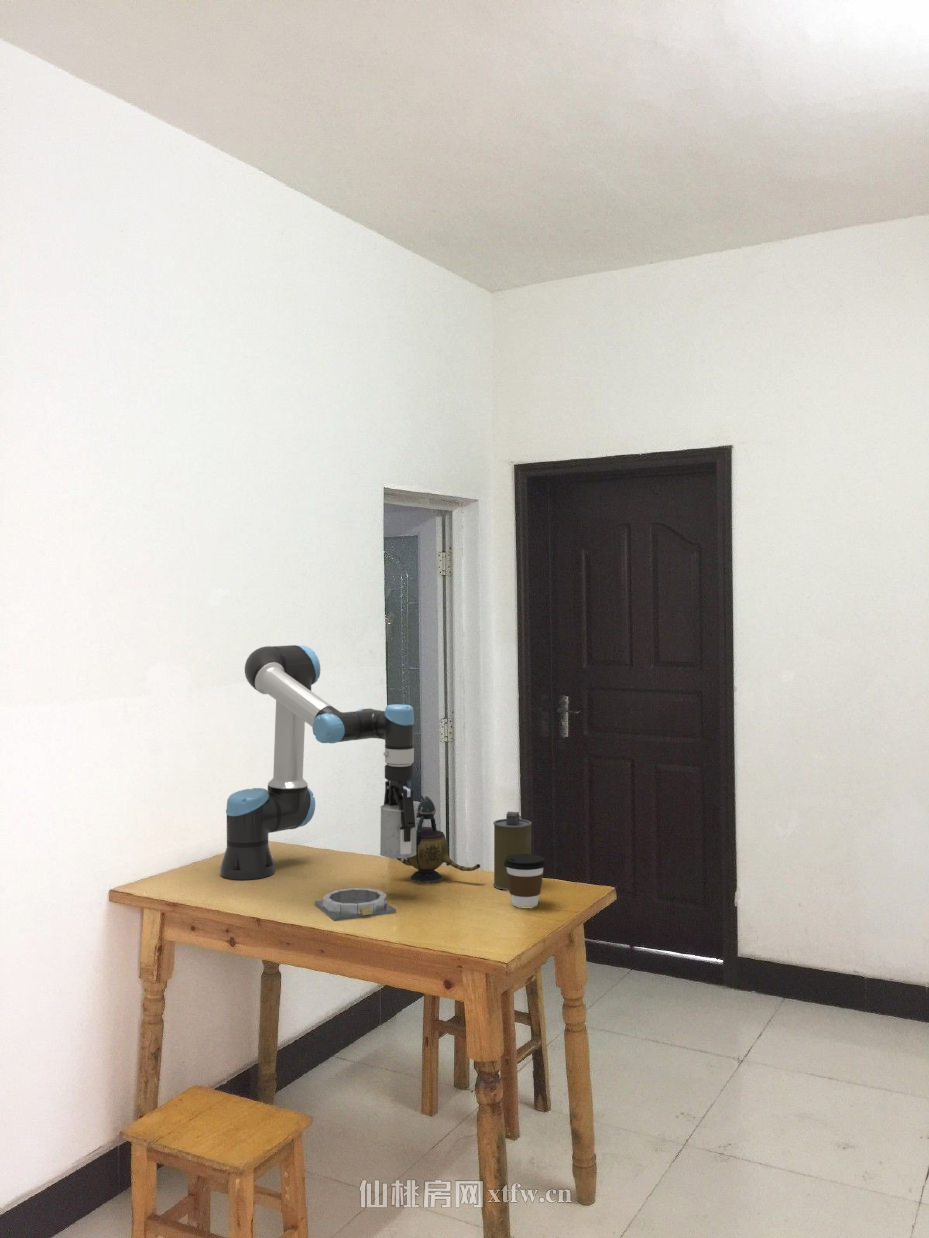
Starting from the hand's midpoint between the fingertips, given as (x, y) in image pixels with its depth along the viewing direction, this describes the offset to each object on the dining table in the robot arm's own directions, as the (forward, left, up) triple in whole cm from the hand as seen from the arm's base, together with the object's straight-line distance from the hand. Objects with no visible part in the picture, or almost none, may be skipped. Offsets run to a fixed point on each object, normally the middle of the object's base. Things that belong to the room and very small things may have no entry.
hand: (398, 849), depth 275 cm
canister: (+3, +32, -13) cm, 35 cm away
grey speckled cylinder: (0, 0, -1) cm, 1 cm away
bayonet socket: (+5, -14, -12) cm, 19 cm away
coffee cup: (+21, +26, -13) cm, 36 cm away
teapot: (-11, +16, -13) cm, 23 cm away
